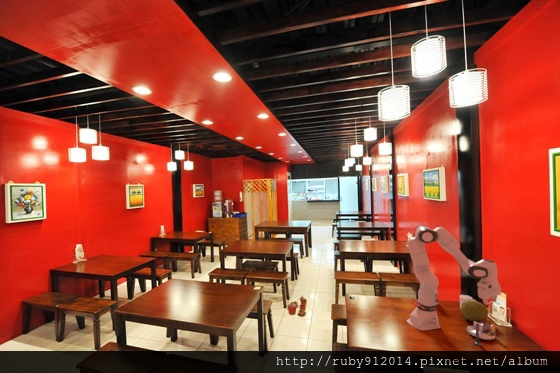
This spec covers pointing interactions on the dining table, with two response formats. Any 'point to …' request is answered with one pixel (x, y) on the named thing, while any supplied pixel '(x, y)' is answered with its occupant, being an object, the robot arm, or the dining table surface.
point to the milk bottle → (436, 297)
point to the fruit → (474, 310)
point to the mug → (465, 299)
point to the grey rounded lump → (485, 327)
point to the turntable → (482, 333)
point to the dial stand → (477, 333)
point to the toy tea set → (294, 305)
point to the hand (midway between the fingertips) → (490, 302)
